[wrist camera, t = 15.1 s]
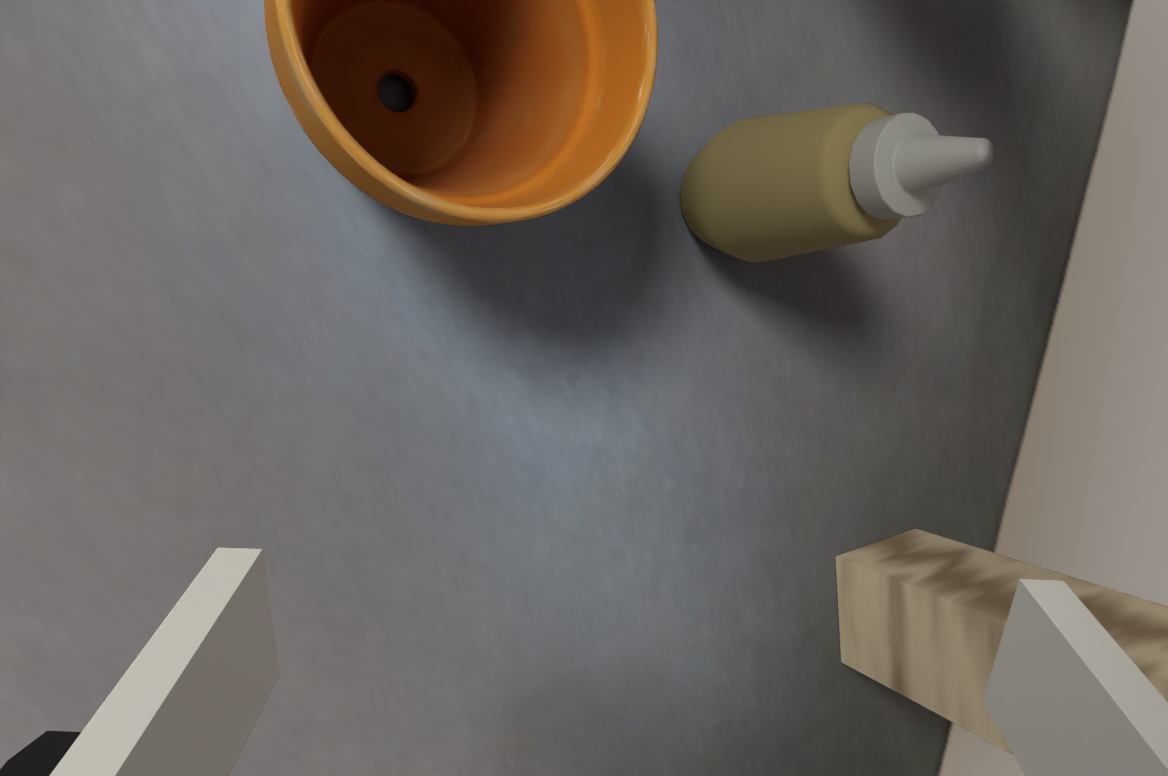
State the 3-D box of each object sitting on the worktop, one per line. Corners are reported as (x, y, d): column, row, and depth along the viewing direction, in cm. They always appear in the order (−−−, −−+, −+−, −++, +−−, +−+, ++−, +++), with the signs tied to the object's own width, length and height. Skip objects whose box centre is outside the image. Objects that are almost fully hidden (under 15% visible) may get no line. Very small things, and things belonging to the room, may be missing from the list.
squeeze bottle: (751, 113, 50) (1029, 30, 34) (783, 240, 52) (1058, 218, 36) (645, 149, 47) (897, 76, 31) (683, 283, 49) (937, 279, 33)
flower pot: (539, -12, 43) (680, -123, 31) (512, 259, 44) (640, 248, 32) (250, -106, 36) (294, -291, 25) (225, 216, 37) (256, 182, 26)
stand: (831, 679, 58) (1449, 1032, 30) (824, 546, 56) (1470, 790, 29) (928, 637, 63) (1545, 910, 35) (924, 512, 61) (1568, 695, 33)
